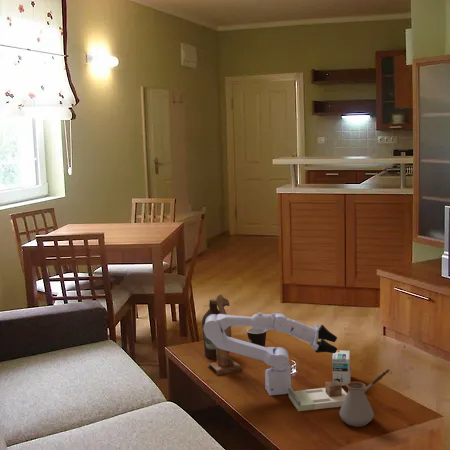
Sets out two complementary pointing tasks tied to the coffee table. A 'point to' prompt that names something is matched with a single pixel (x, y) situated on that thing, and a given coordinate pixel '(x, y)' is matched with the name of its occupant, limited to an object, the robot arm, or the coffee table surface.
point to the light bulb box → (341, 367)
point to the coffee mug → (257, 336)
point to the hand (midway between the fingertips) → (336, 345)
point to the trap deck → (315, 399)
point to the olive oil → (208, 345)
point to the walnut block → (333, 388)
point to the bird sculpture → (223, 358)
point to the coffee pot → (358, 404)
